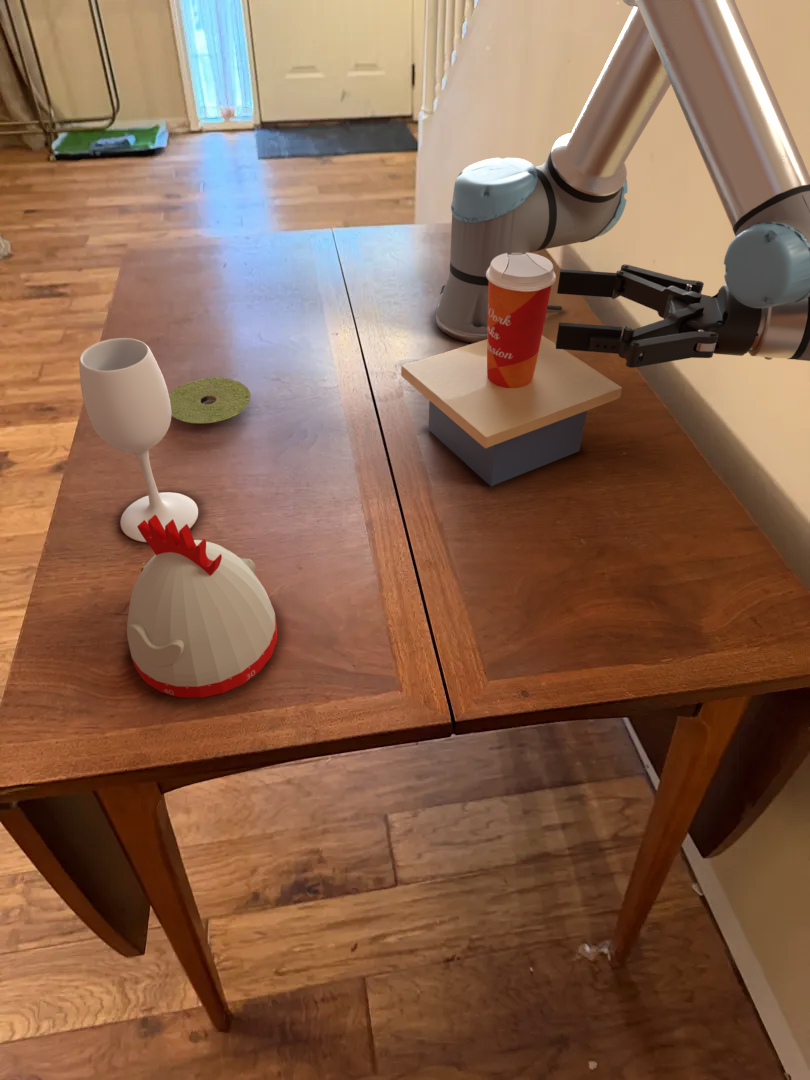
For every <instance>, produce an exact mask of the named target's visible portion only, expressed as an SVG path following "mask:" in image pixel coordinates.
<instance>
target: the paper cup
mask: <svg viewBox="0 0 810 1080" xmlns="http://www.w3.org/2000/svg"><path fill="white" fill-rule="evenodd" d="M511 254H512V255H508V254H507V253H505V254H501V255H499V256H497V257H495V258H494V259H493V260H492V262H491V265H490V267H489V268H488V270H487V272H486V277H487V279H488V280H489V288H488V333H487V376H488V379H489V380H490V381H491V382H492V383H493V384H495V385H497V386H500V387H504V388H520V387H524V386H526V385H528V384H529V383H531V381H532V379H533V375H534V371H535V367H536V362H537V357H538V352H539V347H540V342H541V337H542V335H543V332H544V327H545V321H546V317H547V313H548V312H547V311H548V309H547V307H548V305H549V301H550V295H551V291H552V285H554V283H555V282H556V280H557V275H556V273H555V271H554V264H553V262H552V261H551V260H550V259H548V258H547V257H545V256H543V255H541V254H537V253H534V252H530V253H527V252H526V254H522V253H511ZM508 256H509V257H508Z"/></svg>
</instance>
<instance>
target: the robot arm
mask: <svg viewBox="0 0 810 1080" xmlns="http://www.w3.org/2000/svg"><path fill="white" fill-rule="evenodd" d="M622 1H623V3H625V5H627V6H629V7H633V8H632V10H631V12H630V14H629V16H628V18H627V20H626V22H625V24H624V26H623V28H622V30H621V32H620V34H619V36H618V38H617V40H616V43H615V44H614V47H613V48H612V51H611V52H610V54H609V57H608V59H607V60H606V63H605V64H604V67H603V69H602V70H601V73H600V75H599V77H598V79H597V81H596V82H595V84H594V87H593V88H592V91H591V93H590V95H589V97H588V98H587V100H586V103H585V105H584V107H583V109H582V111H581V113H580V115H579V117H578V118H577V121H576V123H575V125H574V126H573V129H572V130H571V133H570V132H569V133H566V134H564V135H561V136H560V137H559V138H558V139H557V140H556V141H555V142H554V144H553V146H552V148H551V149H550V152H549V154H548V156H547V158H546V160H545V162H544V163H543V164H541V165H537V166H535V165H534V164H533V163H532V162H530V161H528V160H527V159H524V158H519V157H510V156H509V157H508V156H507V157H504V158H500V157H493V158H491V157H490V158H487V159H483V160H480V161H477V162H474V163H472V164H469V165H468V166H466V167H465V168H464V169H463V170H462V171H460V173H459V174H458V175H457V178H456V180H455V181H454V186H453V193H452V199H451V200H452V201H451V203H450V210H451V227H450V251H449V252H450V253H449V255H450V257H449V273H448V276H447V279H446V282H445V284H444V285H442V287H441V290H440V295H441V297H440V299H439V301H438V303H437V305H436V310H435V322H436V325H437V327H438V328H439V329H440V330H441V331H442V332H443V333H444V334H446V335H447V336H449V337H452V338H454V339H455V340H459V341H463V342H465V343H466V342H467V343H471V344H473V343H477V342H480V341H483V340H486V339H487V333H488V288H489V280H488V279H487V277H486V272H487V270H488V268H489V267H490V265H491V262H492V260H493V259H494V258H495V257H497V256H499V255H501V254H505V253H507V254H508V255H512V254H511V253H522V254H526V252H527V253H535V252H538V251H543V250H548V249H553V248H559V247H563V246H567V245H573V244H578V243H585V242H589V241H592V240H594V239H596V238H598V237H601V236H603V235H606V234H607V233H609V232H610V231H611V230H612V229H613V228H614V227H615V226H616V225H617V224H618V222H619V221H620V219H621V218H622V216H623V213H624V211H625V208H626V205H627V199H626V198H625V195H626V194H628V187H629V186H628V180H627V177H628V172H627V171H628V170H627V166H626V164H625V162H626V161H627V159H628V158H629V155H630V154H631V153H632V151H633V149H634V147H635V145H636V144H637V143H638V140H639V138H640V137H641V136H642V134H643V133H644V130H645V129H646V127H647V125H648V124H649V122H650V120H651V118H652V117H653V115H654V114H655V112H656V110H657V108H658V107H659V105H660V103H661V102H662V100H663V99H664V97H665V95H666V94H667V92H668V90H669V89H670V87H671V88H672V90H673V92H674V94H675V98H676V99H677V102H678V104H679V106H680V109H681V111H682V113H683V116H684V118H685V120H686V124H687V126H688V128H689V130H690V132H691V134H692V137H693V139H694V142H695V144H696V146H697V149H698V151H699V154H700V156H701V158H702V160H703V163H704V165H705V167H706V170H707V173H708V175H709V177H710V180H711V182H712V184H713V187H714V189H715V192H716V194H717V196H718V199H719V200H720V203H721V205H722V208H723V210H724V212H725V214H726V217H727V219H728V222H729V224H730V226H731V229H732V231H733V233H734V236H735V237H734V238H733V239H732V241H731V243H730V244H729V245H728V247H727V249H726V253H725V255H724V259H723V265H724V266H725V267H724V269H725V271H724V272H725V273H724V275H723V276H724V277H723V278H724V282H725V283H724V284H723V285H722V286H720V288H719V289H718V292H717V293H716V294H715V295H712V296H711V295H706V294H702V292H703V287H704V284H705V283H704V282H703V281H701V280H693V279H684V278H681V277H676V276H672V275H669V274H664V273H661V272H658V271H653V270H649V269H645V268H641V267H638V266H634V265H630V264H626V263H625V264H622V265H621V266H620V270H616V272H606V271H592V270H578V269H563V268H560V269H559V276H558V282H557V283H558V284H557V289H556V293H557V294H559V295H573V296H585V297H597V298H598V297H599V298H611V299H612V300H615V299H618V298H619V297H623V298H625V299H626V300H629V301H632V302H634V303H637V304H638V305H641V306H644V307H646V308H649V309H651V310H654V311H655V312H657V315H658V317H660V318H661V320H657V321H655V322H652V323H648V324H646V325H643V326H639V327H637V328H631V327H629V326H627V325H625V326H624V327H623V328H622V326H613V325H601V324H600V325H599V324H588V323H574V322H561V321H559V322H558V327H557V334H556V340H555V344H556V349H564V350H565V351H577V352H589V353H591V352H592V353H604V354H616V355H618V357H619V358H621V359H625V360H626V361H625V366H626V367H627V368H632V369H634V368H640V367H646V366H651V365H657V364H665V363H670V362H675V361H680V360H687V359H692V358H693V359H711V358H713V356H714V354H715V355H725V356H739V357H742V356H744V355H746V354H749V355H750V356H751V357H756V358H757V357H759V358H764V359H765V360H767V361H771V360H773V359H781V360H782V359H785V360H796V361H807V362H810V173H809V171H808V169H807V167H806V165H805V163H804V160H803V157H802V155H801V152H800V151H799V148H798V146H797V144H796V141H795V139H794V136H793V134H792V132H791V129H790V126H789V125H788V122H787V119H786V118H785V116H784V113H783V111H782V109H781V106H780V104H779V101H778V99H777V97H776V94H775V92H774V89H773V87H772V85H771V83H770V80H769V78H768V76H767V74H766V71H765V69H764V66H763V64H762V62H761V58H760V56H759V54H758V53H757V50H756V48H755V45H754V43H753V41H752V38H751V36H750V34H749V33H750V32H749V31H748V29H747V26H746V24H745V22H744V20H743V17H742V15H741V13H740V10H739V7H738V6H737V3H736V1H735V0H622ZM508 257H509V256H508ZM548 310H550V311H562V310H563V306H562V305H549V304H548V307H547V311H548Z"/></svg>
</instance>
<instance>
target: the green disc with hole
mask: <svg viewBox="0 0 810 1080" xmlns="http://www.w3.org/2000/svg"><path fill="white" fill-rule="evenodd" d="M169 398H170V404H171V417H173V418H175V419H176V420H178V421H182V422H185V423H189V424H210V423H211V424H212V423H218V422H220V421H221V422H222V421H225V420H228V419H230V418H232V417H236V416H237V415H239V414H241V412H243V411H244V410H245V409H246V408H247V407H248V406H249V403H250V402H251V401H250V400H251V398H252V397H251V392H250V389H248V387H247V386H246V385H244V383H242V382H240V381H238V380H234V379H231V378H227V377H205V378H200V379H195V380H191V381H188V382H185V383H183V384H181V385H180V386H178V387H177V388H175V389H174V390H173V391H171V393H169Z"/></svg>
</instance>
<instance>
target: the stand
mask: <svg viewBox="0 0 810 1080" xmlns="http://www.w3.org/2000/svg"><path fill="white" fill-rule="evenodd" d="M400 369H401V370H400V373H401V374H400V375H401V377H402V378H403V379H404V380H405V381H406V382H407V383H408V384H410V385H411V386H412V387H414V388H415V389H416V390H417V391H418V392H419V393H420V394H422V396H424V397H425V398H426V399H427V400H428V403H429V404H428V431H429V432H430V433H431V434H432V435H433V436H434V437H436V438H437V439H438V440H439V441H440V443H442V444H443V445H444V446H446V447H447V448H448V449H449V451H451V452H452V453H453V454H455V455H456V457H458V458H459V460H461V461H462V462H463V463H464V464H465V465H466V466H467V467H469V468H470V469H471V470H472V471H473V472H474V473H475V474H476V475H478V477H480V478H481V479H482V480H483V481H484V482H485V483H486V484H487V485H489V487H494V486H496V485H498V484H501V483H503V482H506V481H508V480H511V479H513V478H517V477H518V476H521V475H523V474H525V473H528V472H531V471H533V470H535V469H538V468H541V467H544V466H546V465H548V464H551V463H553V462H556V461H559V460H562V459H564V458H566V457H569V456H571V455H573V454H576V453H579V452H580V449H581V445H582V439H583V434H584V429H585V425H586V418H587V413H588V411H589V410H592V409H595V408H597V407H600V406H603V405H605V404H608V403H611V402H613V401H614V402H615V401H616V400H619V399H621V395H622V390H623V387H622V386H620V385H619V384H618V383H616V382H615V381H613V380H611V379H609V378H608V377H607V376H605V375H604V374H602V373H601V372H599V371H598V370H596V369H594V368H593V367H592V366H589V364H587V363H585V362H584V361H582V360H580V359H579V358H578V357H576V356H575V355H573V354H571V353H570V352H568V350H565V349H556V342H553V341H552V340H550V339H549V338H547V337H546V336H544V335H543V334H542V337H541V342H540V347H539V352H538V357H537V362H536V367H535V371H534V375H533V379H532V381H531V383H529V384H528V385H526V386H524V387H520V388H504V387H500V386H497V385H495V384H493V383H492V382H491V381H490V380H489V379H488V376H487V339H486V340H483V341H480V342H477V343H471V344H466V345H464V346H460V347H457V348H455V349H451V350H448V351H445V352H441V353H438V354H435V355H431V356H428V357H425V358H421V359H419V360H415V361H412V362H408V363H405V364H402V365H401V366H400Z"/></svg>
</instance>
